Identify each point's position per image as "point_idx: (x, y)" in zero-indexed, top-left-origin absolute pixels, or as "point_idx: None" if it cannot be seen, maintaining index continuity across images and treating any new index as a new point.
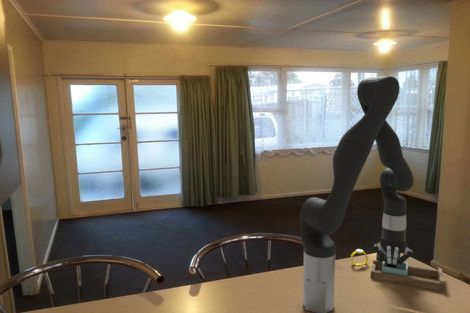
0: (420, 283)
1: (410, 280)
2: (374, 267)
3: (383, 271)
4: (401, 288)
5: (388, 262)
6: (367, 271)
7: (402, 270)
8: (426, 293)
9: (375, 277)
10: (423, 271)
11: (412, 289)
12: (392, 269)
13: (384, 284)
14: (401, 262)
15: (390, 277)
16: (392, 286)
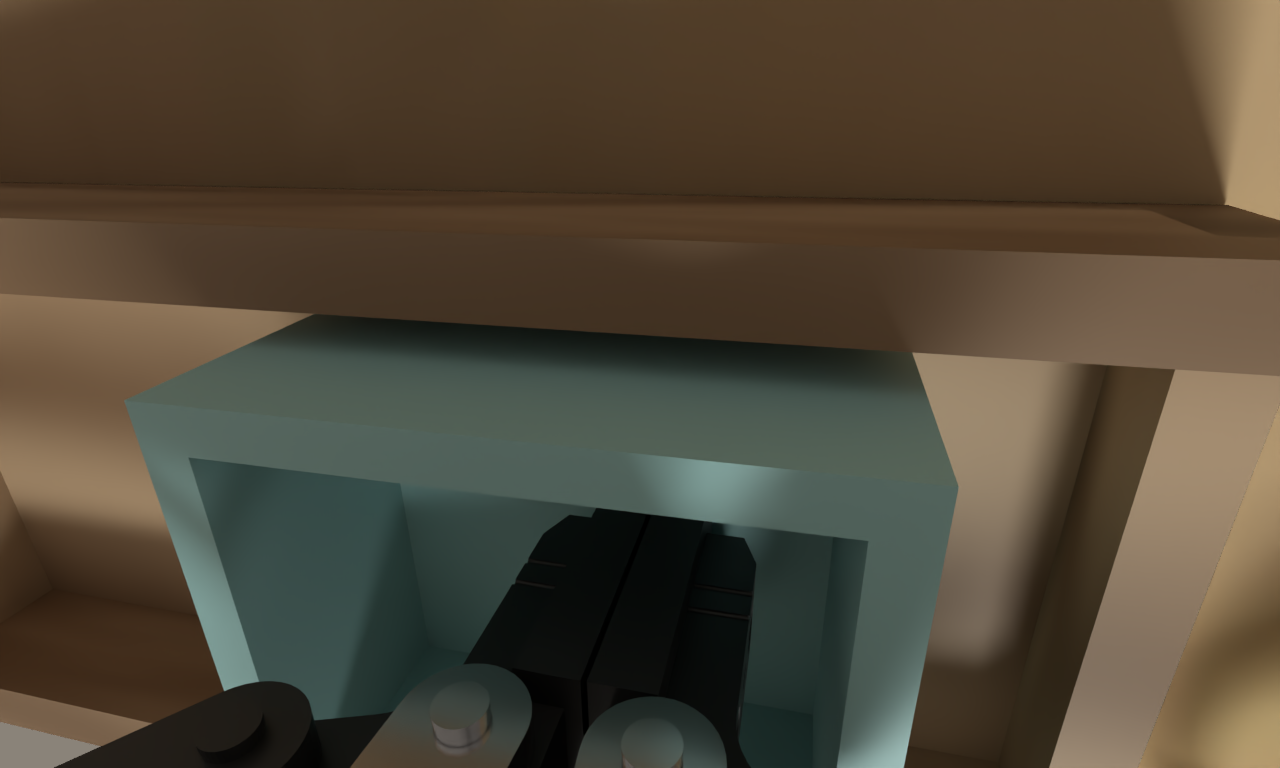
0: (44, 200)
1: (198, 215)
2: (1094, 683)
3: (874, 397)
4: (442, 18)
5: (688, 752)
6: (1219, 607)
7: (256, 410)
8: (23, 24)
9: (1108, 215)
10: (149, 676)
11: (252, 82)
12: (564, 430)
13: (835, 50)
14: (196, 736)
15: (665, 219)
16: (637, 27)
